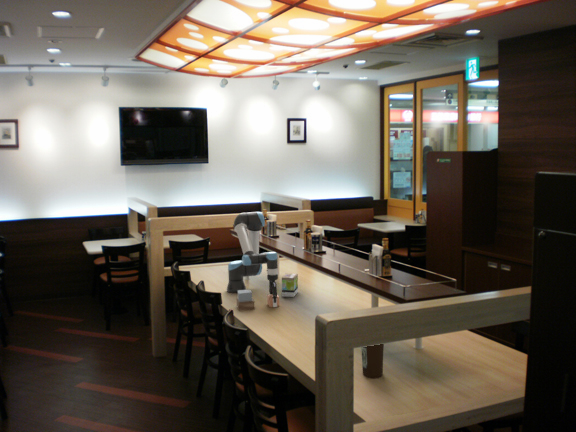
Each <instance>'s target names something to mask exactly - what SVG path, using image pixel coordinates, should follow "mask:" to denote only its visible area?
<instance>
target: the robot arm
mask: <svg viewBox="0 0 576 432" xmlns="http://www.w3.org/2000/svg"><path fill="white" fill-rule="evenodd" d="M265 226H266V222H265V216H264V214H263V212H262V211H251V212H241V213H239V214H237V216H236V217H235V219H234V221H233V228H234V232H236V235H237V238H238V240H239V244H240V247H241V251H242V253H243V255H242V257H241V259H240V260H234V261H230V262H229V263H228V266H227V270H228V272H227V274H228V282H227V283H228V284H227V285H226V291H227V292H228V293H233V294H235V293H236V294H238V293H237V290H247V286H246V283H245V282H244V278H245V277H255V276H259V275H261V274H262V271H263V264H266V270H265V271H266V274H267V275H266V278H267V279H266V280H267V281H269V282H268V284H269V287H268V289H269V290H268V292H269V295H272V294H273V297H272V298H273V307H272V308H278V306H277V295H278V290H277V282H276V281H277V280H278V279H279V274H278V273H279V270H278V269H279V268H278V267H279V266H278V258H279V257H278V253H277V252H276V251H267V252H266V251H265V252H264V251H263V252H261V253H259V252H260V251H259V250H260V233H261V231H262V230H263V227H265Z"/></svg>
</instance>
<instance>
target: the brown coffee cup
mask: <svg viewBox="0 0 576 432" xmlns="http://www.w3.org/2000/svg"><path fill="white" fill-rule="evenodd" d="M384 345H385V344H380V345H374V346H367V347H361V346H360V349H361V351H360V352H361V365H362V375H363V376H364V377H365V376H366V378H369V379H378V378H381V377H382V376H383V373H384V372H383V371H384Z"/></svg>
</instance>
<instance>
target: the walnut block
mask: <svg viewBox="0 0 576 432" xmlns="http://www.w3.org/2000/svg"><path fill="white" fill-rule="evenodd" d="M236 307H237V310H238V311H240V312H241V311H250V310H251V311H253V310H255V308H256V307H255V300H254V298H253V297H252V301H246V302H239V300H238V297H237V298H236Z"/></svg>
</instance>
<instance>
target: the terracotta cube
mask: <svg viewBox="0 0 576 432" xmlns="http://www.w3.org/2000/svg"><path fill="white" fill-rule="evenodd" d="M266 297H267V305H268V307H269V308H274V307H273V298H272V297H273V294H272V295H270V294H267V296H266ZM277 307H280V296H279V295H278V294H277Z"/></svg>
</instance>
